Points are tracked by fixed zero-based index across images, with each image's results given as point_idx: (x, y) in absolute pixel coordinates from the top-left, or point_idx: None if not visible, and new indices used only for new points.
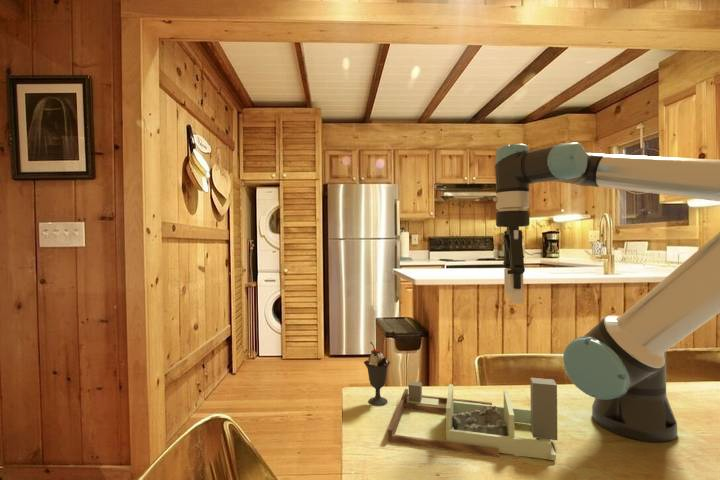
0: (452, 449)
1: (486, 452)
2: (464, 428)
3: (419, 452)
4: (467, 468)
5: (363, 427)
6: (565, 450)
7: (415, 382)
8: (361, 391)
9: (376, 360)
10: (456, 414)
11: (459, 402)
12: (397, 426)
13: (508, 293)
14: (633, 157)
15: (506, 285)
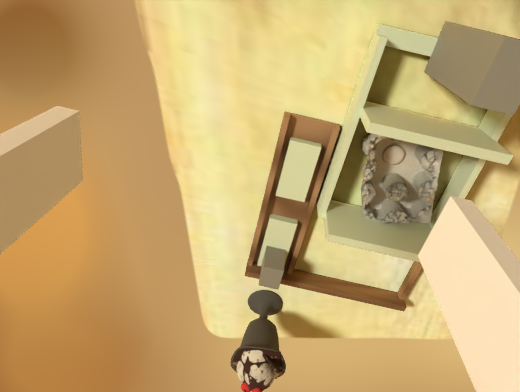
0: None
1: None
2: (422, 208)
3: None
4: (496, 210)
5: (354, 322)
6: (488, 14)
7: (264, 276)
8: (224, 321)
9: (274, 376)
10: (363, 209)
11: (327, 201)
12: (358, 284)
13: (81, 161)
14: None
15: (45, 200)
